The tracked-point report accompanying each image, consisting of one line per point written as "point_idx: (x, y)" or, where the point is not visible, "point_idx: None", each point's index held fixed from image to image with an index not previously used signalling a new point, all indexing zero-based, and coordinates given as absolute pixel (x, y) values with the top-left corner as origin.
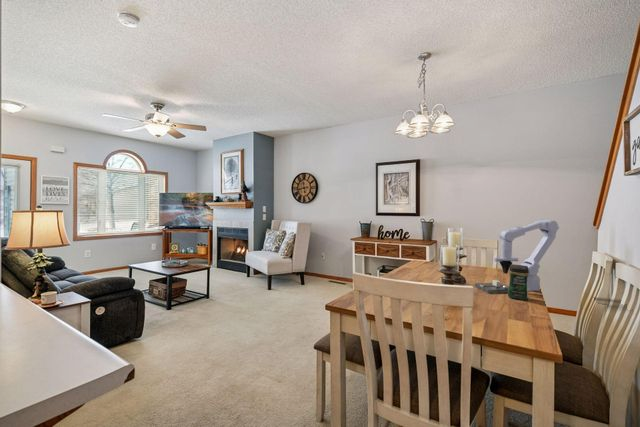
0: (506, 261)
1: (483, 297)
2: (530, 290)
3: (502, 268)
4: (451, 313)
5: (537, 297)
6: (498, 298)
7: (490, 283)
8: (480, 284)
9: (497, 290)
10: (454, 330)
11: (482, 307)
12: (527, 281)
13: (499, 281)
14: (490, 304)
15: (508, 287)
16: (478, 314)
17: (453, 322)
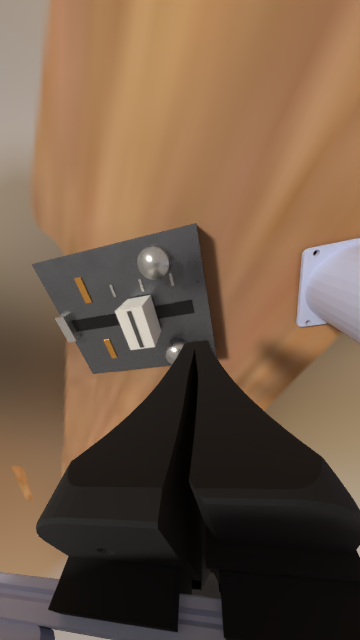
0: (224, 585)
1: (80, 399)
2: (326, 323)
3: (168, 374)
4: (15, 469)
5: (277, 395)
6: (126, 406)
7: (126, 254)
8: (63, 287)
9: (134, 367)
10: (31, 501)
11: (72, 452)
12: (356, 341)
13: (150, 342)
14: (93, 440)
15: (204, 332)
16: (63, 473)
17: (25, 489)
